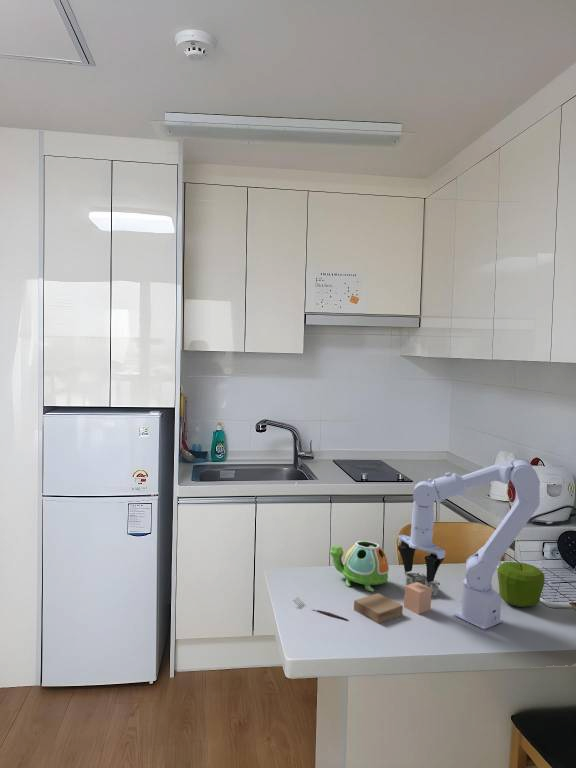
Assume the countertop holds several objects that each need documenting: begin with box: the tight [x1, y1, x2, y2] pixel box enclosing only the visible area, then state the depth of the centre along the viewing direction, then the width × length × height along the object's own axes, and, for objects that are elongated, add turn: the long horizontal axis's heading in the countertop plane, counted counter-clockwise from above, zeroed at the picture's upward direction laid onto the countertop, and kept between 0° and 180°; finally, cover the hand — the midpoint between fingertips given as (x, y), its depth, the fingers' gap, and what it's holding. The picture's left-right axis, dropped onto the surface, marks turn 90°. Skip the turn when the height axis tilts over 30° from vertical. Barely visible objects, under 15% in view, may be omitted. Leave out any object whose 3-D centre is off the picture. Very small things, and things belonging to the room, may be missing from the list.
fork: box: [292, 597, 349, 622], centre depth 154 cm, size 3×16×2 cm, turn 59°
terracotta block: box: [403, 582, 432, 615], centre depth 159 cm, size 5×5×6 cm
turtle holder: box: [329, 540, 390, 592], centre depth 175 cm, size 12×18×12 cm
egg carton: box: [404, 571, 441, 597], centre depth 172 cm, size 11×8×4 cm
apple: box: [497, 561, 545, 608], centre depth 165 cm, size 12×12×11 cm
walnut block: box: [353, 593, 404, 624], centre depth 155 cm, size 9×9×3 cm
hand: (419, 576), depth 158 cm, fingers open, 7 cm apart
